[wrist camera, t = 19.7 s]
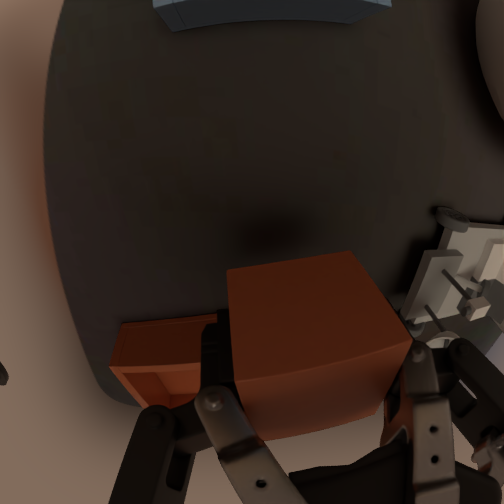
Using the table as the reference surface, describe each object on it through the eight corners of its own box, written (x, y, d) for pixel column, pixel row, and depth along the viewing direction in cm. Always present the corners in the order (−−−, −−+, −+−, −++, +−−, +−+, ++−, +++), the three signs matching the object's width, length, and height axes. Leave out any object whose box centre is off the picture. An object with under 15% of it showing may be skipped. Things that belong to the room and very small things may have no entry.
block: (243, 351, 13) (255, 442, 9) (226, 269, 10) (234, 382, 6) (340, 332, 13) (374, 414, 9) (350, 249, 11) (413, 339, 6)
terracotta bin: (166, 393, 26) (163, 429, 22) (121, 322, 20) (108, 366, 16) (271, 383, 27) (278, 421, 23) (262, 306, 21) (271, 353, 17)
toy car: (411, 410, 15) (500, 283, 9) (367, 321, 23) (405, 202, 17) (520, 352, 17) (571, 263, 11) (479, 299, 25) (514, 216, 19)
